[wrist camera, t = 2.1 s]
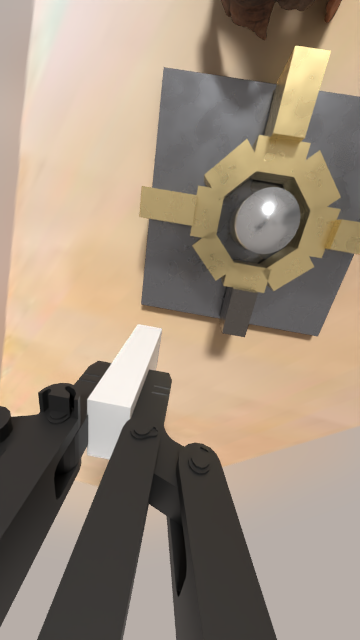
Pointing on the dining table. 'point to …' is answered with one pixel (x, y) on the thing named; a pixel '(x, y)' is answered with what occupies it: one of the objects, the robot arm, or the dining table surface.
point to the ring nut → (271, 166)
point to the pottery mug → (267, 12)
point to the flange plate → (245, 198)
